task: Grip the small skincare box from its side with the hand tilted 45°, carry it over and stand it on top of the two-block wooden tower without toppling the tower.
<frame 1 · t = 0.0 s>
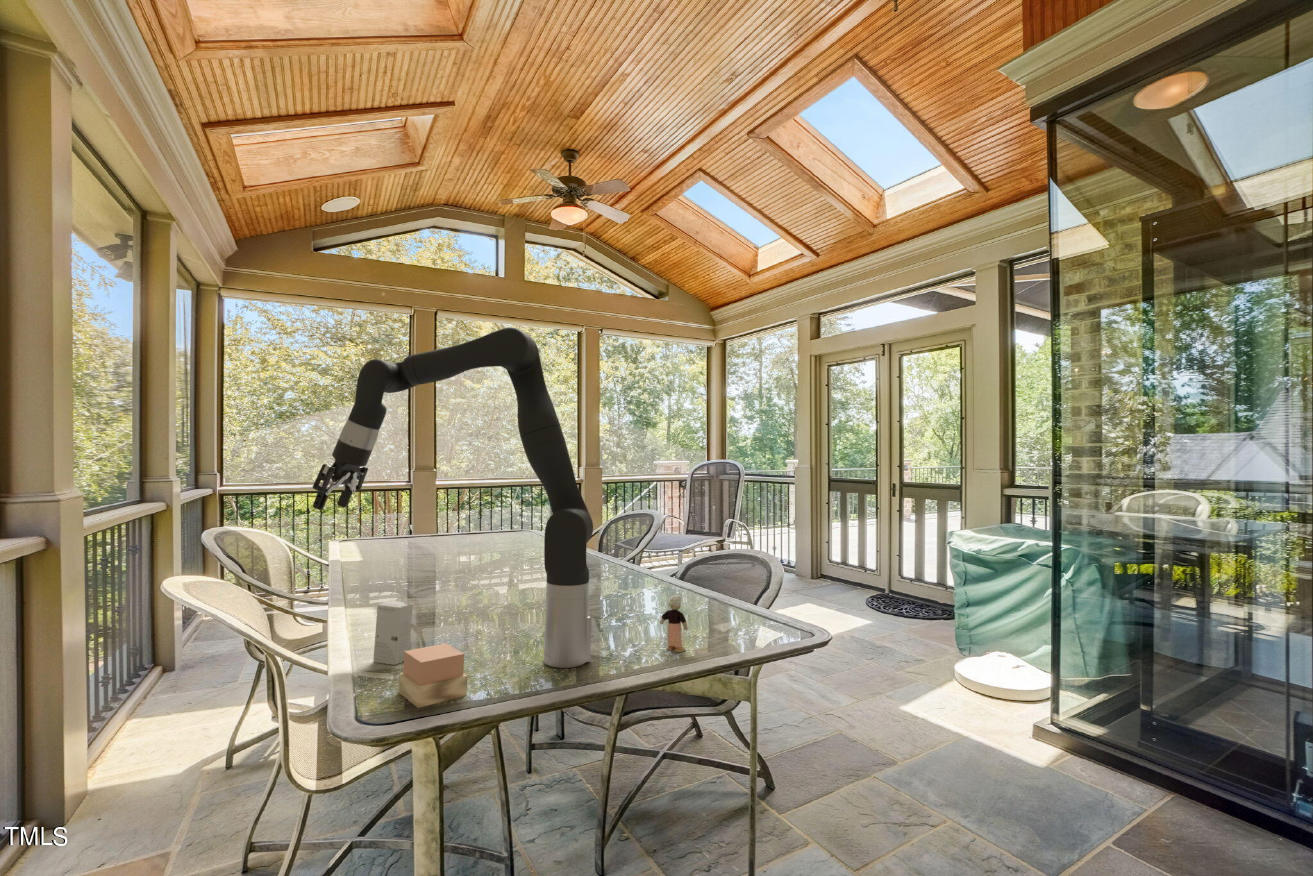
hand: (329, 507, 140), 31 cm above the table, tool tilted 20°, fingers open, 8 cm apart
skincare box: (391, 661, 130), on the table
grandmother figurine: (673, 650, 143), on the table
tower top: (433, 674, 113), point 4 cm above the table, touching tower base
tower base: (432, 696, 112), on the table, touching tower top
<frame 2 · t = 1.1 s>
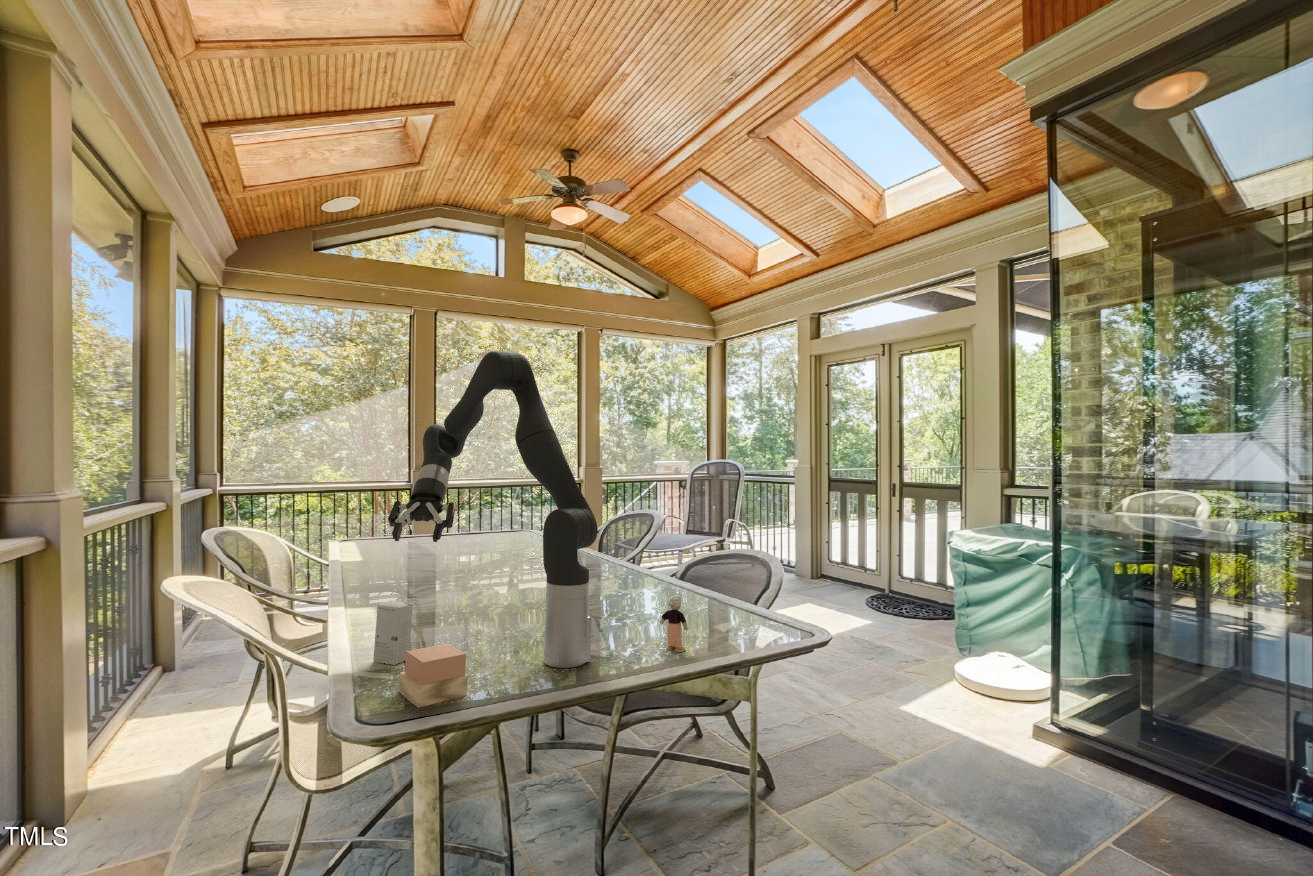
hand: (415, 539, 139), 25 cm above the table, tool tilted 45°, fingers open, 8 cm apart
nothing on the table moved.
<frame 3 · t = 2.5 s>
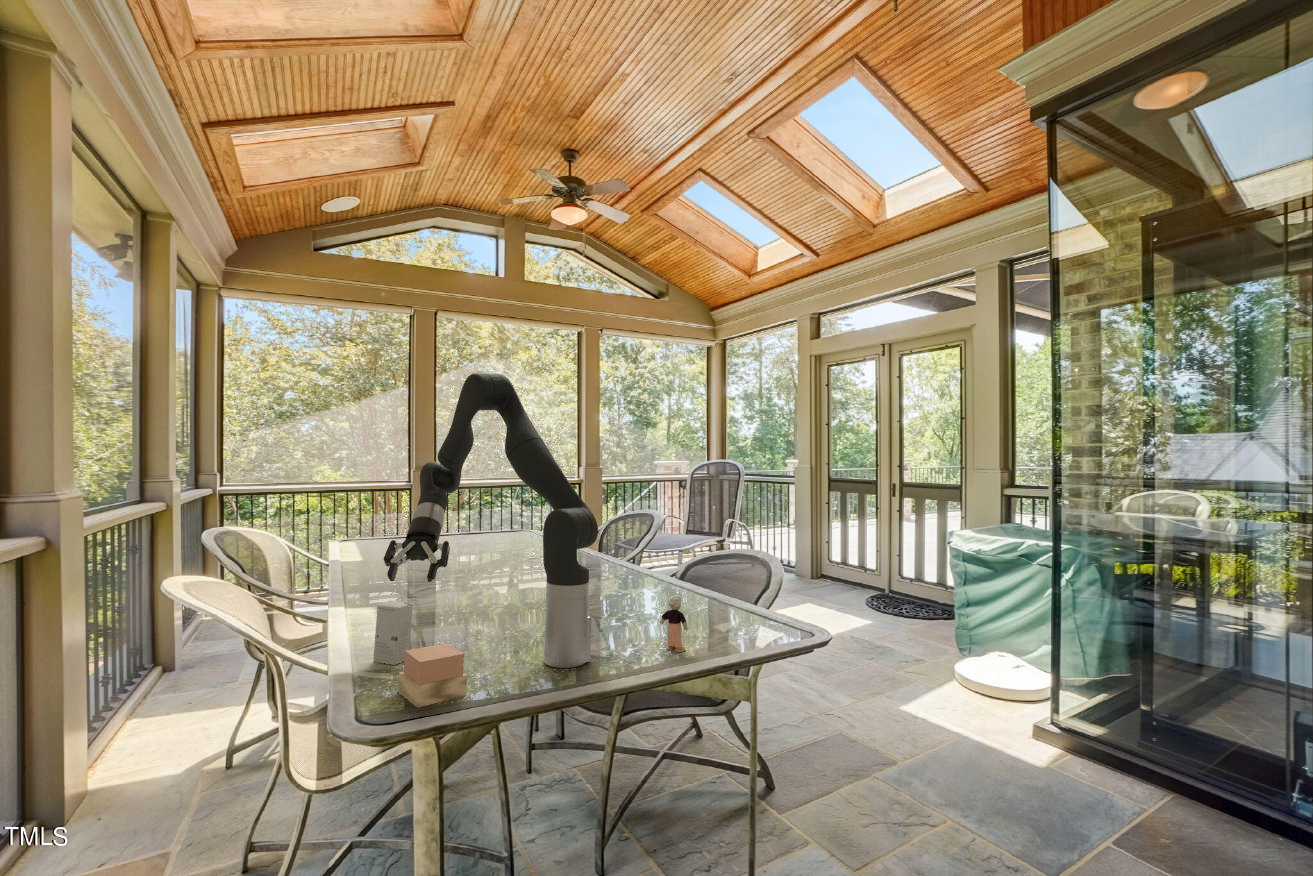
hand: (410, 579, 141), 15 cm above the table, tool tilted 45°, fingers open, 8 cm apart
nothing on the table moved.
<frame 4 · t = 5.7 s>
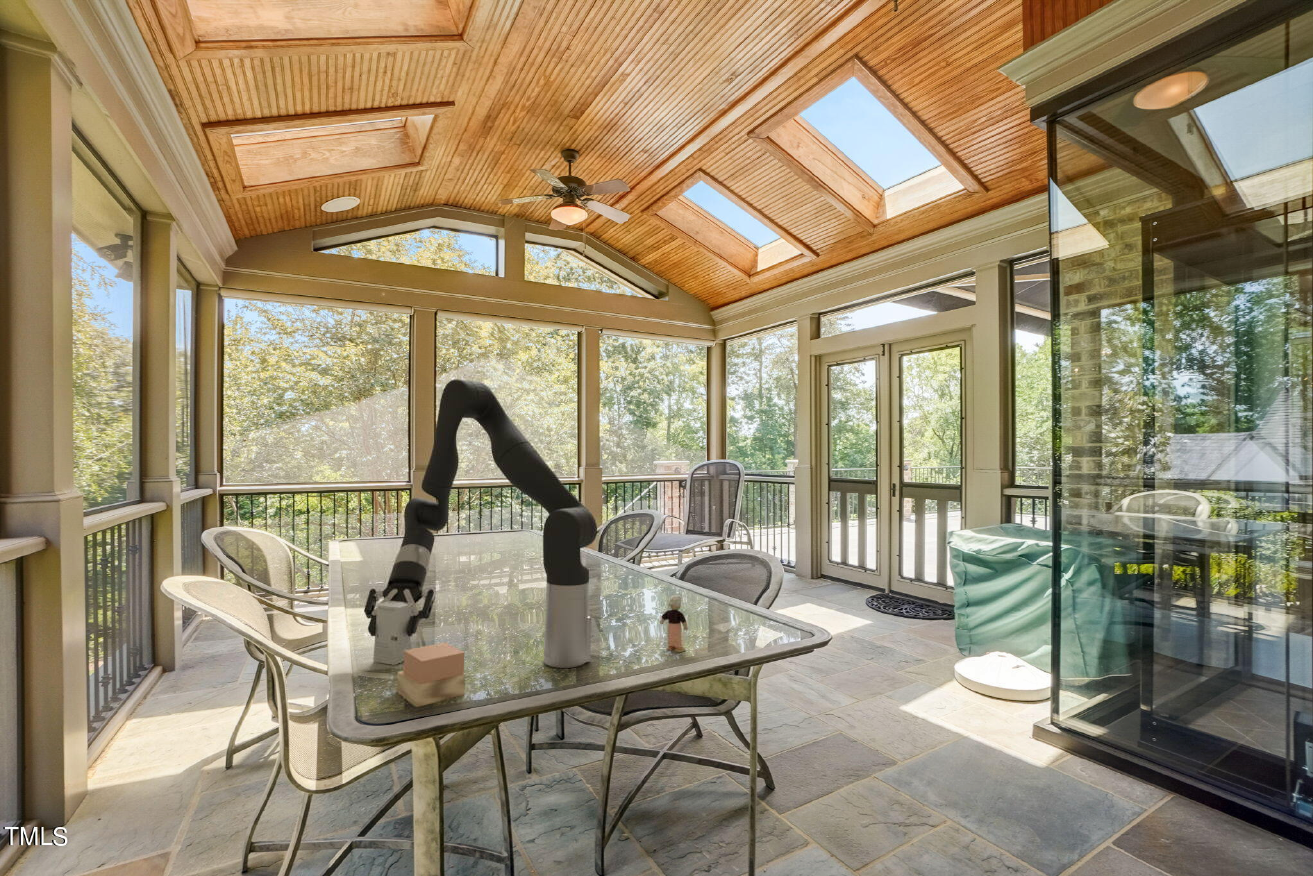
hand: (390, 634, 129), 6 cm above the table, tool tilted 45°, fingers closed on skincare box, 7 cm apart
skincare box: (391, 661, 130), on the table, touching gripper
everything else where it was.
when the fingers open (15 cm above the table, at t = 10.7 s): skincare box drops 1 cm, resting on tower top.
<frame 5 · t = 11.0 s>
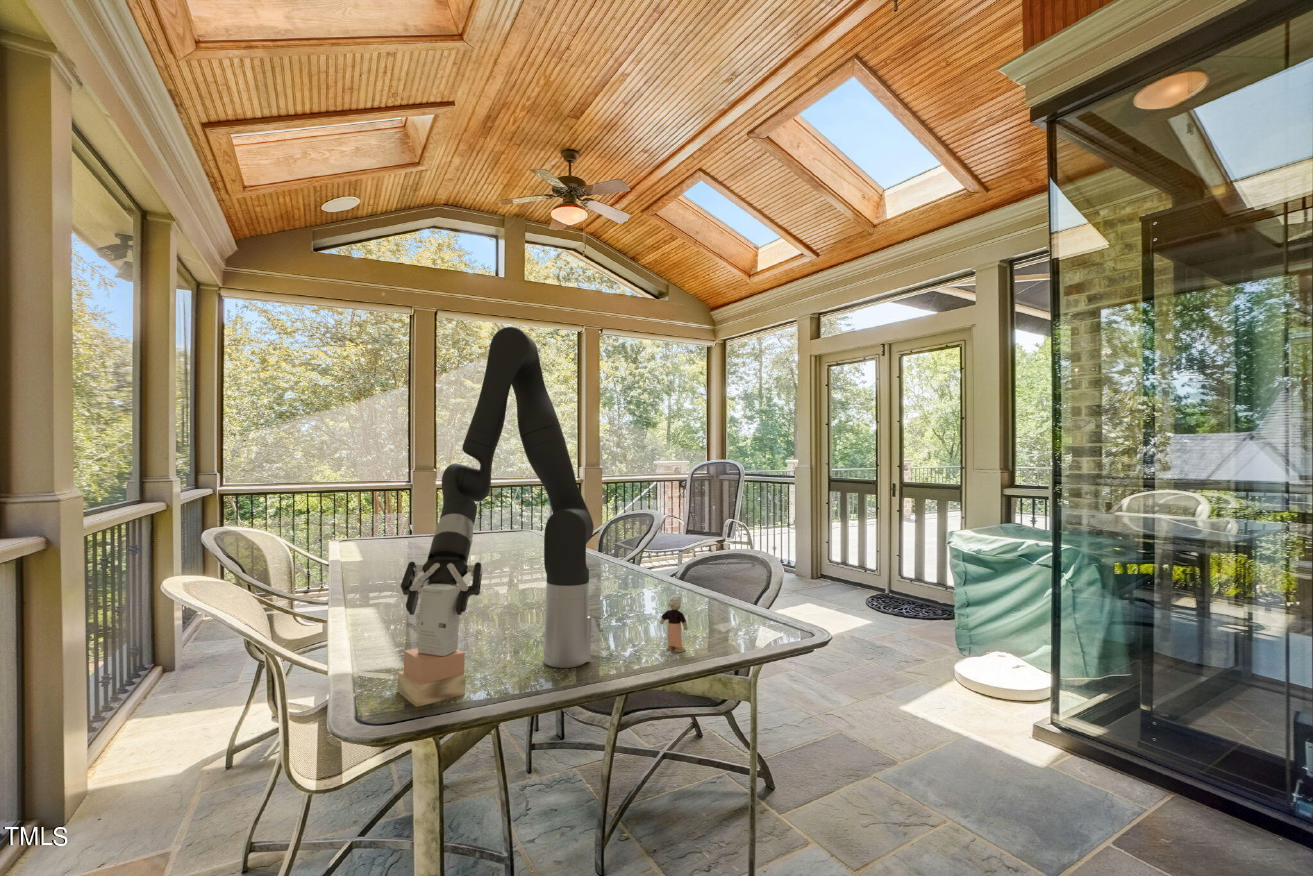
hand: (435, 612, 112), 15 cm above the table, tool tilted 45°, fingers open, 8 cm apart
skincare box: (438, 652, 113), point 7 cm above the table, touching gripper, tower top
tower top: (433, 673, 113), point 4 cm above the table, touching skincare box, tower base
everything else where it was.
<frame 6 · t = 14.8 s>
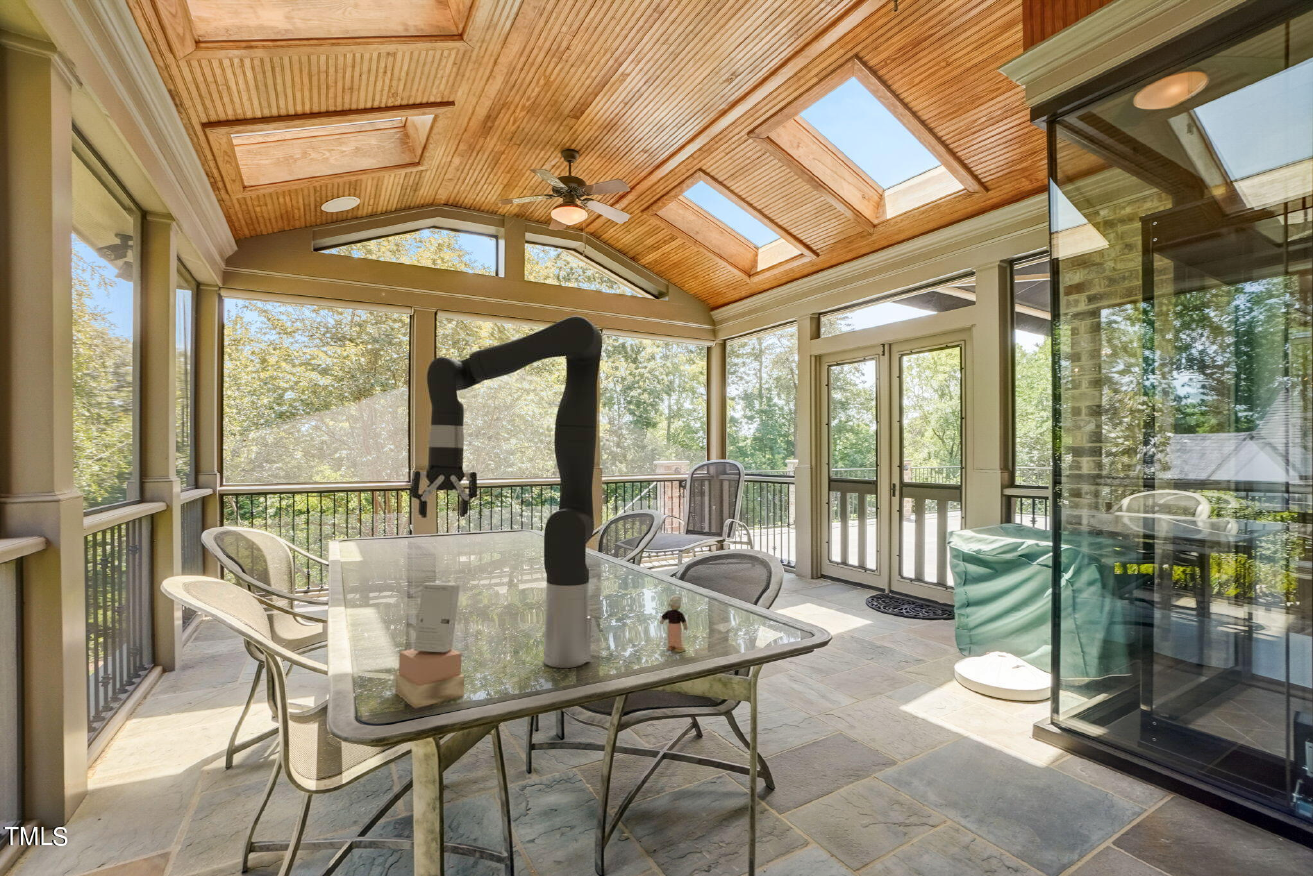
hand: (443, 517, 138), 30 cm above the table, tool pointing down, fingers open, 8 cm apart
skincare box: (434, 651, 113), point 8 cm above the table
tower top: (429, 674, 113), point 4 cm above the table, touching tower base
everything else where it was.
at the end: skincare box inside the target area on the tower top (0.5 cm from its centre), point 4.0 cm above the tower top's base; skincare box tilted 4°; tower top moved 0.8 cm from its start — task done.
